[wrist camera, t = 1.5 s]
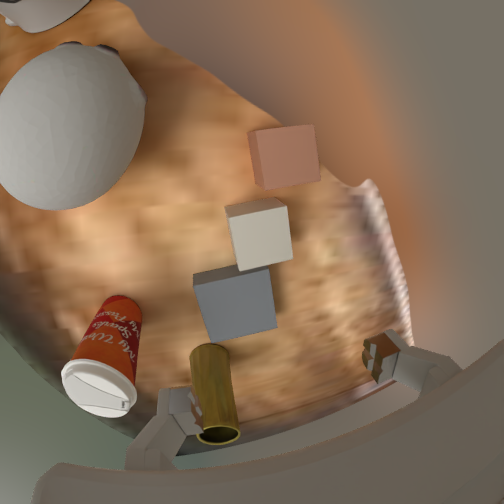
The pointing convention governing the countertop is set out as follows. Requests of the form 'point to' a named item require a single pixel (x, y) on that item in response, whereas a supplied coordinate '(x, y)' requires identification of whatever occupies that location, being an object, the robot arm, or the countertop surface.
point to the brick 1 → (284, 156)
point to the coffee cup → (106, 360)
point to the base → (235, 301)
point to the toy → (69, 126)
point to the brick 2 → (259, 233)
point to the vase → (214, 394)
